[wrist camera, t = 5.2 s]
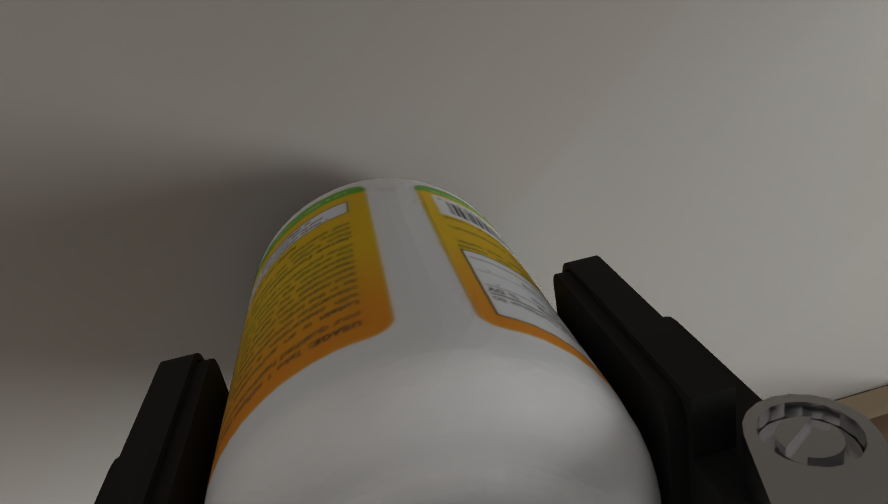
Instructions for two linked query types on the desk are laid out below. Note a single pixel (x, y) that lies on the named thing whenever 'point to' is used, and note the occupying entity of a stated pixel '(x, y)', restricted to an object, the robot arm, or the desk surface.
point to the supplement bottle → (414, 369)
